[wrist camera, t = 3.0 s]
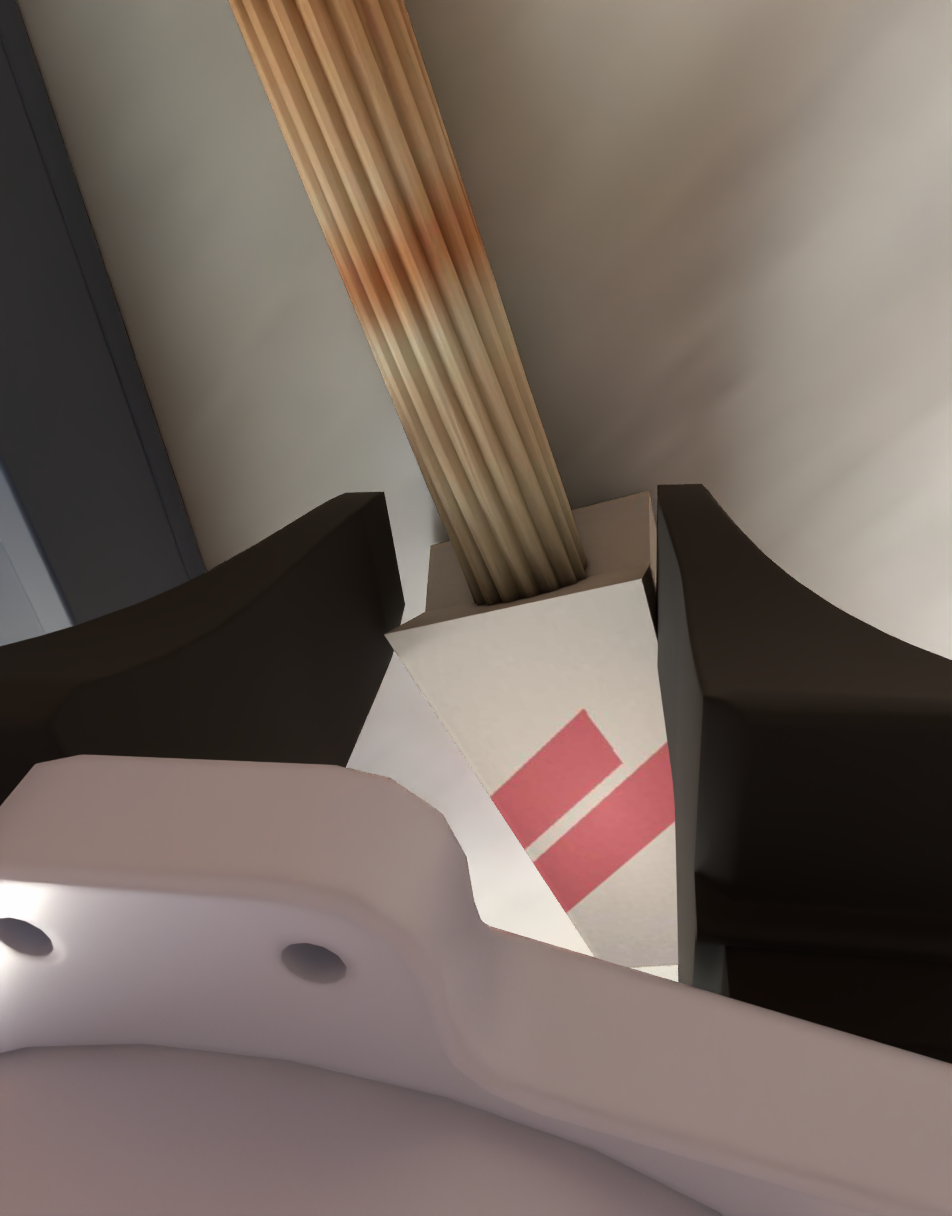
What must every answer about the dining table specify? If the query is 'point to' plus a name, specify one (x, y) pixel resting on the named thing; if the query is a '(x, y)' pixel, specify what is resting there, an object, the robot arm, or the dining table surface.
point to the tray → (69, 395)
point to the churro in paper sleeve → (487, 487)
